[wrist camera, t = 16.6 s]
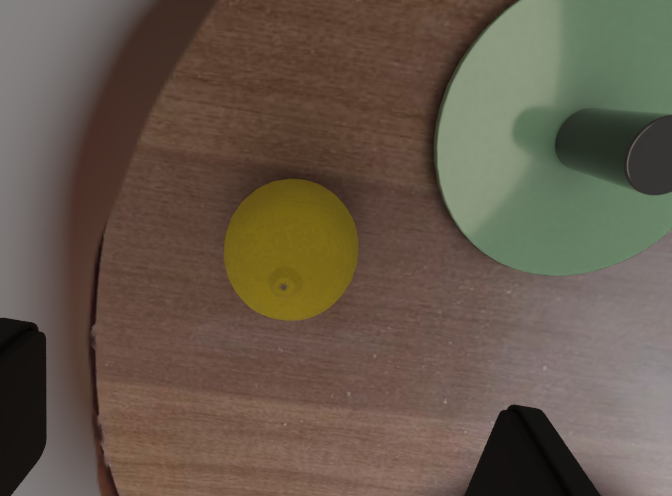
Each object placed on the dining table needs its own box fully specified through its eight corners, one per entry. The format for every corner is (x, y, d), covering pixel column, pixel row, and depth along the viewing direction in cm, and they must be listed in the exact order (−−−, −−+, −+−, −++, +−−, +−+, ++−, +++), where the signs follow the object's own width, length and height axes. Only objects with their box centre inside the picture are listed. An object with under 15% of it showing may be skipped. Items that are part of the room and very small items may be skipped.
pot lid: (485, -65, 18) (562, -138, 12) (775, 17, 19) (970, -14, 13) (397, 239, 22) (422, 292, 17) (636, 288, 24) (736, 354, 18)
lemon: (338, 152, 21) (345, 189, 13) (362, 256, 23) (381, 339, 15) (228, 179, 21) (175, 230, 14) (262, 279, 23) (231, 372, 16)
